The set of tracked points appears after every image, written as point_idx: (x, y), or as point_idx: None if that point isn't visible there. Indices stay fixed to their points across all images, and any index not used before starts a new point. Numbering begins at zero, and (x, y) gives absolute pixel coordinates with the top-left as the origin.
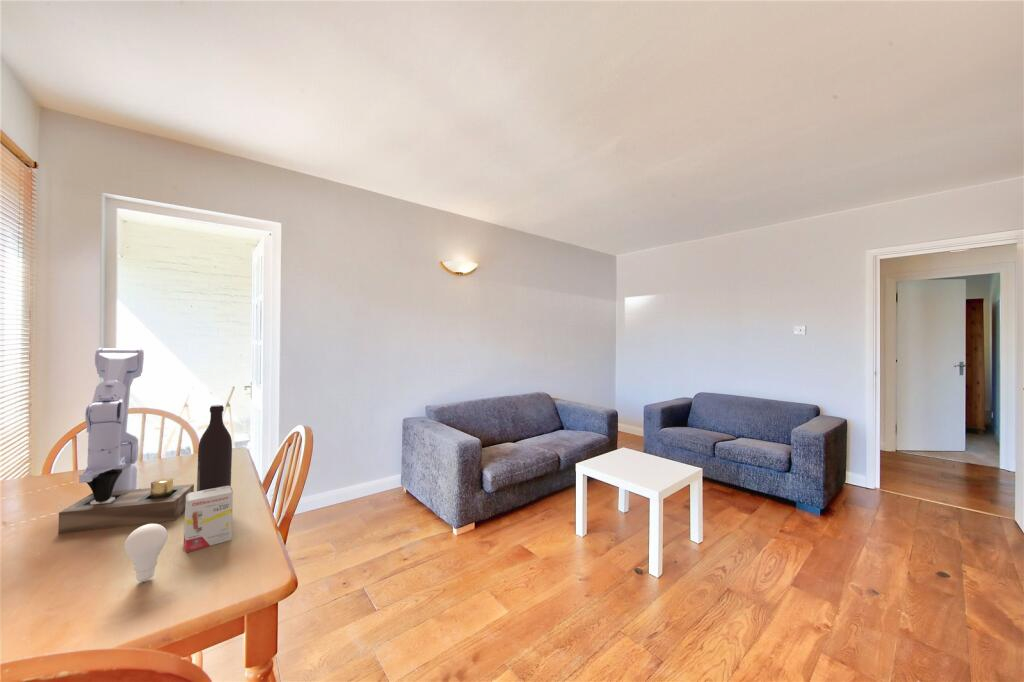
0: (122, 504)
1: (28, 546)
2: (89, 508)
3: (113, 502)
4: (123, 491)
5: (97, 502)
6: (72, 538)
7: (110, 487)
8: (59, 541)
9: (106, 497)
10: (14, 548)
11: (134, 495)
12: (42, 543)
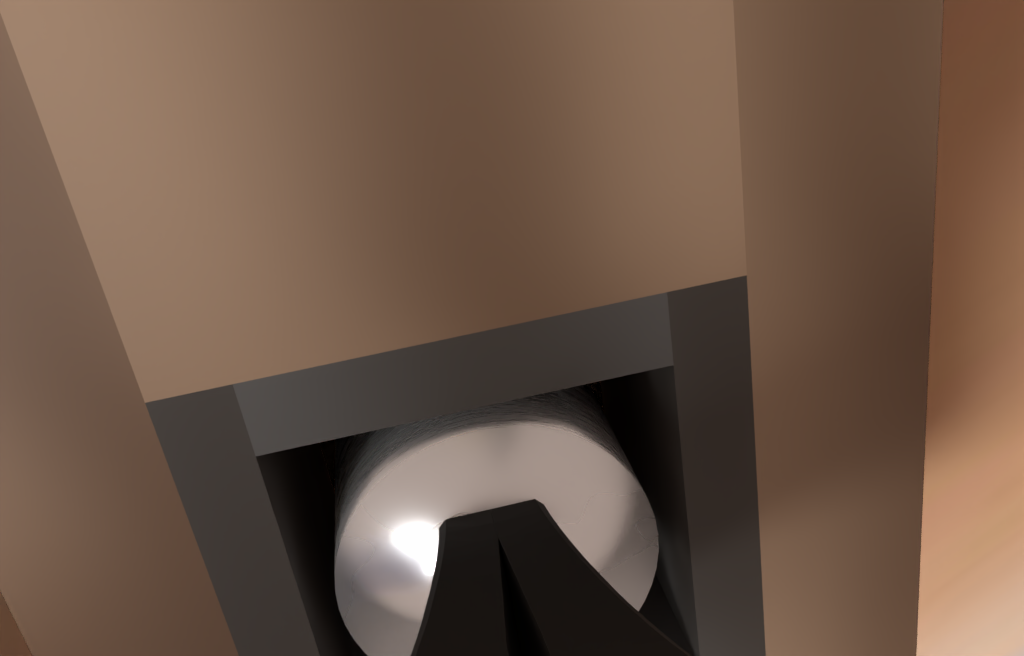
0: (838, 49)
1: (1009, 558)
2: (878, 481)
3: (680, 306)
4: (78, 552)
5: (603, 568)
6: (961, 310)
7: (570, 644)
8: (994, 381)
9: (558, 534)
10: (1009, 628)
11: (323, 166)
12: (985, 497)
